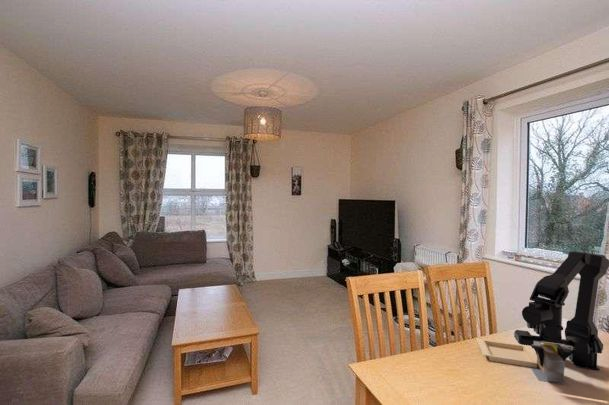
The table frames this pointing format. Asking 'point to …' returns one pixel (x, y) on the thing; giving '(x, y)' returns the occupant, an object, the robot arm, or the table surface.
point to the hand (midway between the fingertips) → (549, 366)
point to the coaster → (541, 376)
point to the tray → (508, 353)
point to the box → (552, 364)
